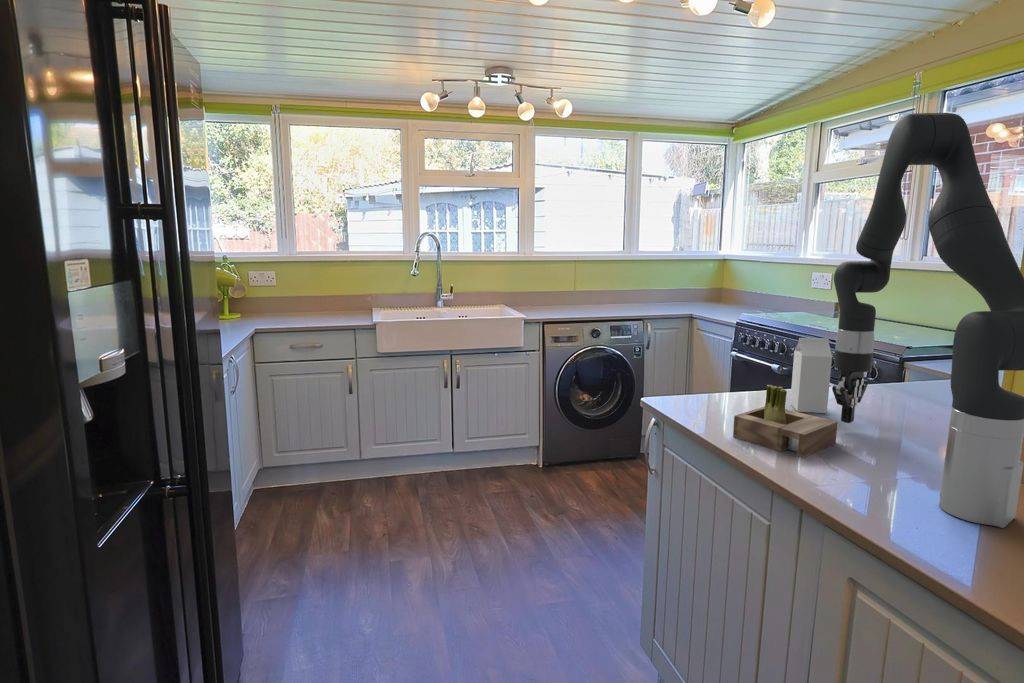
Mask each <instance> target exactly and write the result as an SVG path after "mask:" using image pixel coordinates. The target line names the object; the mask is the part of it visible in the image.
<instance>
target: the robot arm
mask: <svg viewBox="0 0 1024 683" xmlns="http://www.w3.org/2000/svg"><path fill="white" fill-rule="evenodd" d="M909 166H935V167H936V169H937V170H938V172H939V176H940V179H941V183H942V187H941V190H940V192H939V194H938V197H937V198H936V200H935V202H934V204H933V206H932V209H931V210H930V213H929V216H928V223H927V224H928V230H929V233H930V236H931V239H932V241H933V245H934V247H935V250H936V253H937V254H938V256H939V258H940V260H941V261H942V262H943V263H944V264H945V265H946V266H947V267H948V268H949V269H950V270H951V271H953V272H954V273H955V274H956V275H957V276H959V277H960V278H961V279H962V280H964V281H965V282H966V283H968V285H970V286H971V287H972V288H973V289H974V290H975V291H977V292H978V294H979V295H980V296H981V298H982V299H983V300H984V301H985V303H986V304H987V306H988V308H989V311H987V310H985V311H984V310H981V311H980V310H979V311H973V312H972V311H971V312H969V313H967V314H965V315H964V316H963V317H962V318H961V319H960V320H959V321H958V324H957V326H956V328H955V332H954V335H953V341H952V352H951V353H952V356H951V358H952V359H951V372H950V389H951V390H950V392H951V396H952V402H951V411H950V419H949V426H948V433H947V439H946V440H947V442H946V448H945V453H944V454H945V455H944V463H943V469H942V470H943V471H942V477H941V486H940V492H939V500H938V504H939V505H938V506H939V507H940V509H941V510H942V511H944V512H946V513H947V514H948V515H951V516H953V517H956V518H958V519H962V520H963V521H967V522H972V523H975V524H980V525H988V526H994V527H998V528H1001V529H1004V528H1006V526H1008V525H1009V524H1010V523H1011V522H1012V521H1013V520H1014V519H1015V518H1016V514H1017V508H1018V503H1019V502H1018V501H1019V497H1020V489H1021V483H1022V478H1023V471H1024V461H1022V460H1021V457H1022V452H1023V451H1022V449H1023V443H1024V396H1022V395H1021V394H1018V393H1016V392H1013V391H1010V390H1007V389H1004V388H1003V387H1001V385H1000V381H999V380H1000V377H999V375H1000V374H999V372H1000V371H1006V372H1007V371H1009V372H1010V371H1018V372H1019V371H1021V372H1022V371H1024V275H1023V274H1022V272H1021V268H1020V267H1019V265H1018V263H1017V260H1016V258H1015V256H1014V254H1013V253H1012V250H1011V247H1010V245H1009V243H1008V241H1007V237H1006V234H1005V231H1004V229H1003V227H1002V223H1001V221H1000V218H999V217H998V214H997V213H998V212H997V211H996V209H995V207H994V205H993V203H992V200H991V199H990V197H989V194H988V192H987V189H986V186H985V183H984V180H983V177H982V175H981V172H980V169H979V166H978V161H977V158H976V153H975V150H974V146H973V141H972V138H971V134H970V130H969V127H968V124H967V122H966V121H965V119H964V118H963V117H962V116H961V115H960V114H957V113H952V112H915V113H914V112H913V113H908V114H905V115H904V116H901V117H900V119H899V120H898V121H897V122H896V123H895V124H894V127H893V128H892V131H891V133H890V136H889V138H888V141H887V144H886V148H885V151H884V157H883V159H882V163H881V167H880V171H879V175H878V179H877V182H876V183H877V185H876V188H875V194H874V197H873V200H872V203H871V207H870V211H869V213H868V216H867V218H866V220H865V223H864V225H863V228H862V230H861V232H860V235H859V236H858V239H857V242H856V244H855V245H856V246H855V250H856V252H857V253H858V254H859V255H860V256H861V257H864V258H866V259H868V260H865V261H864V260H863V261H862V260H860V261H858V260H855V261H854V260H852V261H851V260H849V261H848V260H847V261H843V262H841V263H840V264H838V266H837V267H836V269H835V272H834V275H833V283H834V288H835V292H836V297H837V303H838V309H839V318H838V329H837V334H836V338H835V346H834V347H835V350H834V356H833V367H834V368H835V369H836V370H838V371H839V376H838V380H837V381H838V384H837V385H835V384H834V385H832V387H831V389H832V390H831V391H832V393H833V395H834V399H835V401H836V404H837V405H839V406H841V413H840V414H841V415H840V421H841V422H843V423H846V424H851V423H854V421H855V420H854V419H855V412H856V411H855V409H856V408H855V407H857V406H858V404H860V403H861V401H862V399H863V397H864V394H865V391H866V390H867V388H868V385H869V380H866V379H864V377H865V374H864V373H868V372H871V370H872V369H873V368H872V367H873V358H874V348H875V347H874V346H875V325H876V324H875V323H876V314H877V312H876V307H875V306H874V305H872V304H870V303H866V302H861V301H859V299H858V297H857V295H856V294H858V293H859V294H860V293H861V294H862V293H863V294H864V293H865V294H867V293H868V294H869V293H870V294H871V293H877V292H880V291H882V290H883V289H884V288H885V287H886V286H887V285H888V283H889V282H890V278H891V277H890V276H891V267H892V261H893V254H894V250H895V248H896V246H897V244H898V242H899V240H900V238H901V236H902V234H903V233H904V232H903V231H904V229H905V226H906V222H907V210H906V206H905V202H904V198H903V194H902V181H903V178H904V175H905V173H906V172H907V169H908V167H909Z"/></svg>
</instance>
